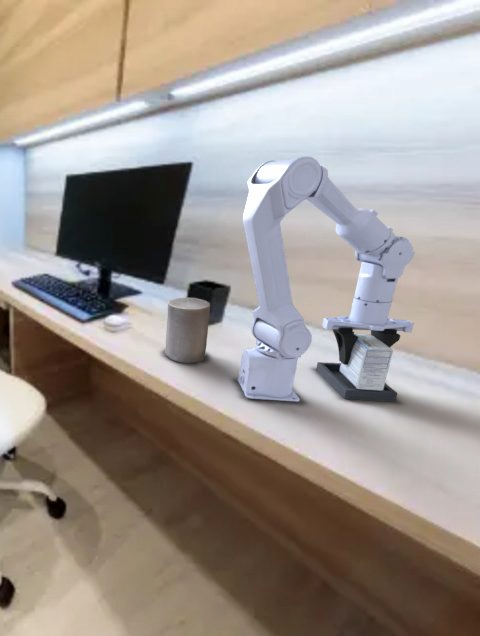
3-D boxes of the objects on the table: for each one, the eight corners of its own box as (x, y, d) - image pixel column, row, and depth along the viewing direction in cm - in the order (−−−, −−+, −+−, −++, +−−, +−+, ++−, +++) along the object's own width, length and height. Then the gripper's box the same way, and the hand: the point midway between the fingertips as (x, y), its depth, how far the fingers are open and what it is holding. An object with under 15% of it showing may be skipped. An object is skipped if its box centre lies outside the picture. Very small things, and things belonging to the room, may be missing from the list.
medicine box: (383, 391, 72) (395, 350, 69) (356, 389, 73) (366, 348, 70) (362, 372, 79) (372, 334, 76) (338, 370, 80) (347, 332, 77)
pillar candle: (208, 351, 97) (214, 294, 92) (201, 366, 89) (206, 305, 84) (170, 345, 102) (173, 290, 97) (159, 359, 94) (162, 300, 89)
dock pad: (344, 398, 74) (346, 390, 73) (315, 369, 85) (317, 362, 85) (395, 401, 72) (397, 393, 71) (359, 371, 84) (361, 364, 83)
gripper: (340, 303, 71) (326, 369, 75) (432, 305, 68) (412, 374, 72) (323, 293, 77) (311, 355, 81) (406, 295, 74) (389, 358, 79)
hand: (357, 363), depth 77 cm, fingers closed on medicine box, 4 cm apart
